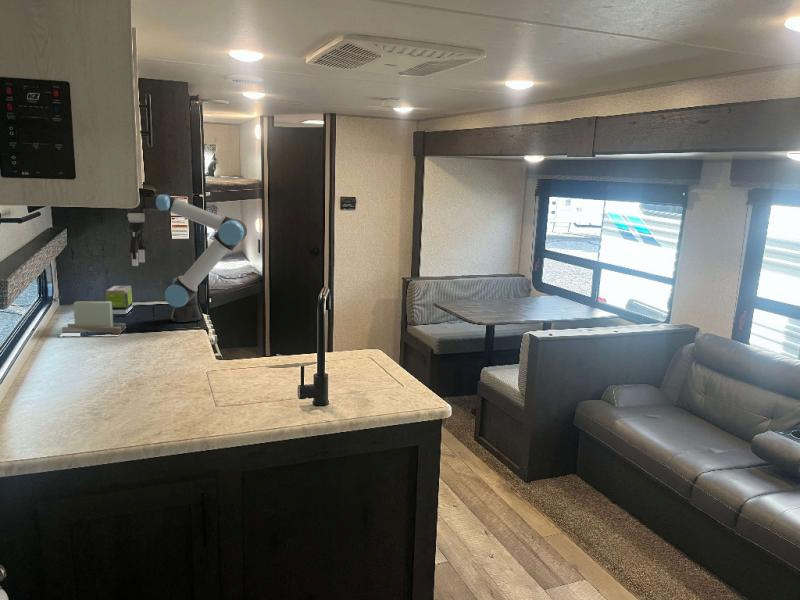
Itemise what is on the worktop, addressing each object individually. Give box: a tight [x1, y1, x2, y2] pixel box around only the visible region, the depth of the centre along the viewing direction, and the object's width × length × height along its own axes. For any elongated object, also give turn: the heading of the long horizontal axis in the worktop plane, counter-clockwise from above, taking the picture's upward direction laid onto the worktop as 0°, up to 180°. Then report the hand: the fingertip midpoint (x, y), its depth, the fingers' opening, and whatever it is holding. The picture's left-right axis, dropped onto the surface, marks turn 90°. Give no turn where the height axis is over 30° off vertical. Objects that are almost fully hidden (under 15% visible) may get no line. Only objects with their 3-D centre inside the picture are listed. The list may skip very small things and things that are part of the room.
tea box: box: [105, 285, 134, 314], centre depth 337 cm, size 15×10×15 cm, turn 10°
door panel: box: [73, 300, 114, 327], centre depth 293 cm, size 4×16×14 cm, turn 100°
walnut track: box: [61, 322, 127, 335], centre depth 294 cm, size 18×26×4 cm
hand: (138, 264), depth 307 cm, fingers open, 13 cm apart
